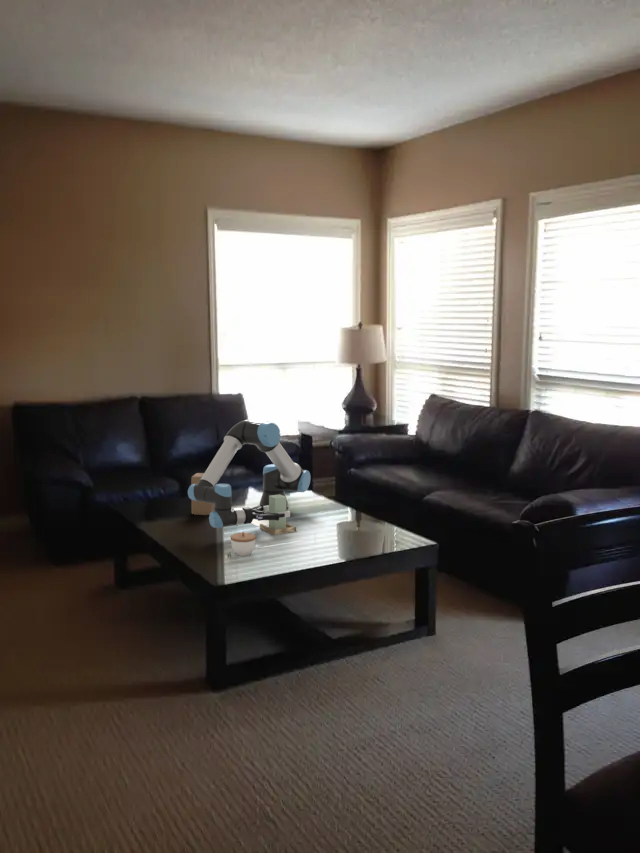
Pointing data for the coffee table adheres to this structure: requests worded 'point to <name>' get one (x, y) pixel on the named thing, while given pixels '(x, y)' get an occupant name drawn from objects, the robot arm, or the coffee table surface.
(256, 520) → the pad
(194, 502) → the block
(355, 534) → the coffee table surface
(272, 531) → the shallow wooden tray
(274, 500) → the tall block
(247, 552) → the lidded jar
